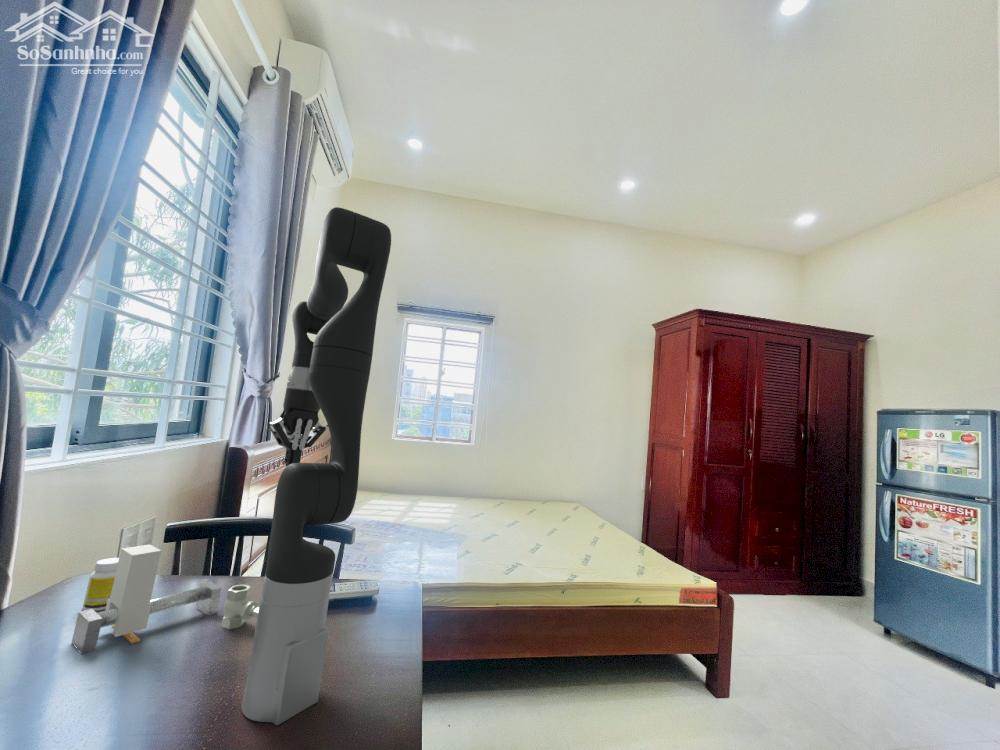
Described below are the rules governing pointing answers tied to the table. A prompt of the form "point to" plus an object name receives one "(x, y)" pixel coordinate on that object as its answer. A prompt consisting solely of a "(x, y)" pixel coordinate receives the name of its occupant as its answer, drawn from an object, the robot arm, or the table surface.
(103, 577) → the supplement bottle
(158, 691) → the table surface
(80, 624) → the rail
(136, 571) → the tall white pillar block
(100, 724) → the table surface
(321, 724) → the table surface
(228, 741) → the table surface
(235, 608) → the valve
